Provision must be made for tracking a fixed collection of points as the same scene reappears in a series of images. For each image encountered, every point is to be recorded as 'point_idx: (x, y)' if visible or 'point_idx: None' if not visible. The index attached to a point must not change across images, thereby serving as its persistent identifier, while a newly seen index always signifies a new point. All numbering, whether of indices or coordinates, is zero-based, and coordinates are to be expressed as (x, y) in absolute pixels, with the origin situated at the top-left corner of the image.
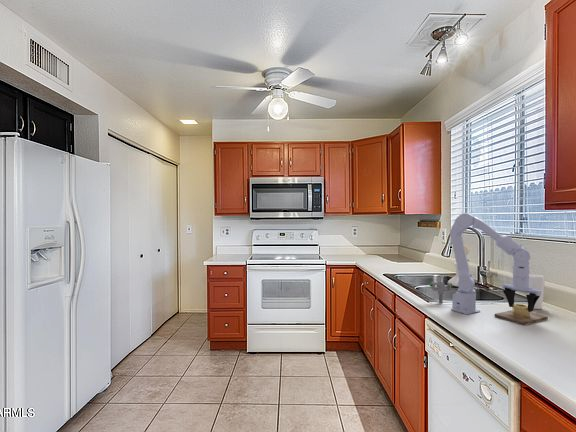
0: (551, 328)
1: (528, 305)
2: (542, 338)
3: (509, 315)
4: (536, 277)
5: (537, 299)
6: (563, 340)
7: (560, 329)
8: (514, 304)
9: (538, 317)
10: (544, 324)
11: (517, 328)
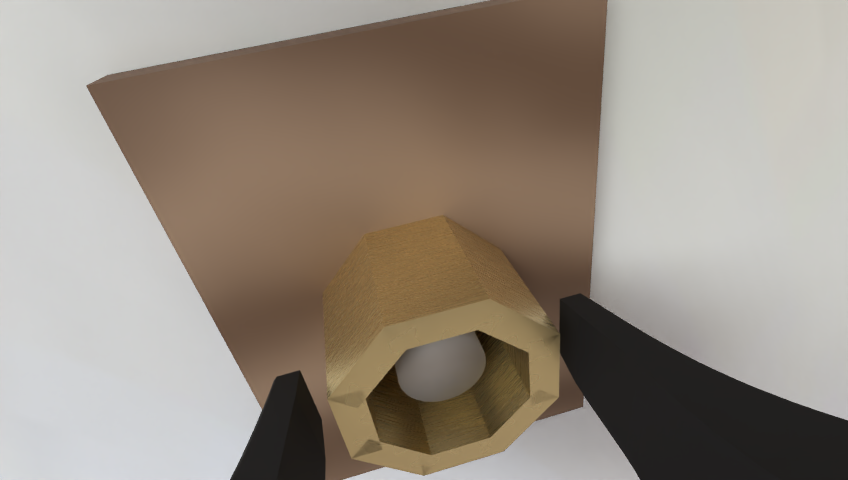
0: (726, 247)
1: (622, 436)
2: None
3: None
4: None
5: (811, 419)
6: (832, 355)
7: (784, 195)
8: (367, 440)
9: (566, 170)
10: (648, 213)
11: (584, 454)
